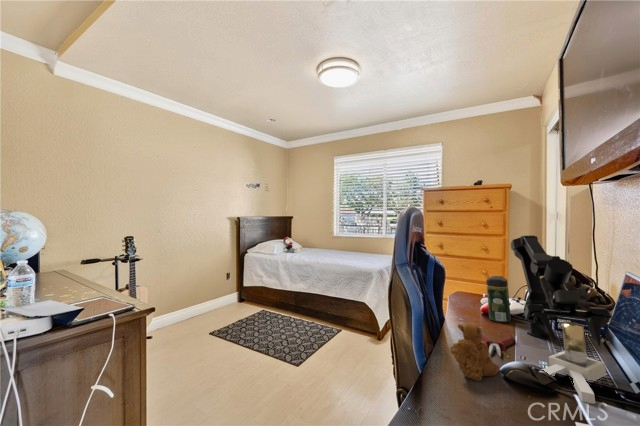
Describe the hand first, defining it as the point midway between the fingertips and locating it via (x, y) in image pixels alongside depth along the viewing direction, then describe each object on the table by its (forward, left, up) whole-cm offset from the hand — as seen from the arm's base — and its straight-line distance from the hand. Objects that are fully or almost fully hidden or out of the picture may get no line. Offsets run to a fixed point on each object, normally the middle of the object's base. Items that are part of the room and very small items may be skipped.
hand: (576, 343), depth 73 cm
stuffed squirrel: (+23, -13, -9) cm, 28 cm away
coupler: (-1, -1, -8) cm, 8 cm away
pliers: (+2, -24, -9) cm, 26 cm away
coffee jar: (-25, -38, -9) cm, 46 cm away
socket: (+4, +1, -8) cm, 10 cm away
